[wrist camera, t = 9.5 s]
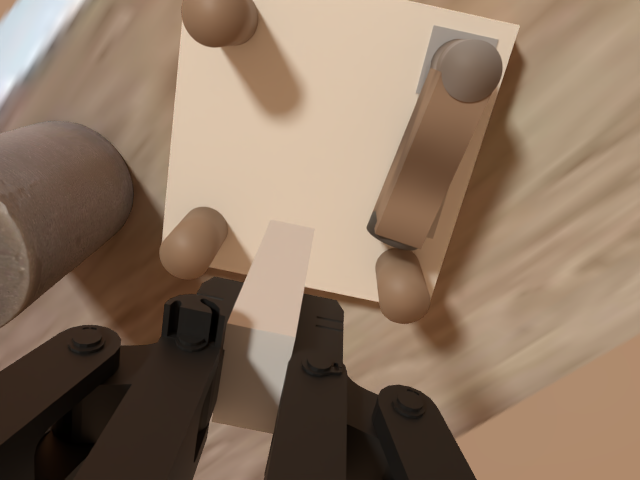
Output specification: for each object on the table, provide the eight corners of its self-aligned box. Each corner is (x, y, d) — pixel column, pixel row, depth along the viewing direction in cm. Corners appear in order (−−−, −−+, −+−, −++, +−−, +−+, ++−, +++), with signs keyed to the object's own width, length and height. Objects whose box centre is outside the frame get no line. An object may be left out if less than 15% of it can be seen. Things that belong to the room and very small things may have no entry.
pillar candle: (89, 267, 41) (-41, 385, 27) (-19, 186, 39) (-221, 270, 25) (160, 180, 38) (56, 263, 24) (48, 87, 36) (-139, 119, 22)
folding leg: (439, 29, 31) (453, 29, 27) (495, 50, 31) (516, 52, 27) (365, 217, 35) (367, 240, 31) (414, 233, 35) (422, 258, 32)
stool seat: (507, 26, 33) (550, 23, 26) (422, 295, 40) (437, 350, 33) (200, -43, 32) (159, -64, 25) (171, 244, 40) (133, 288, 33)
